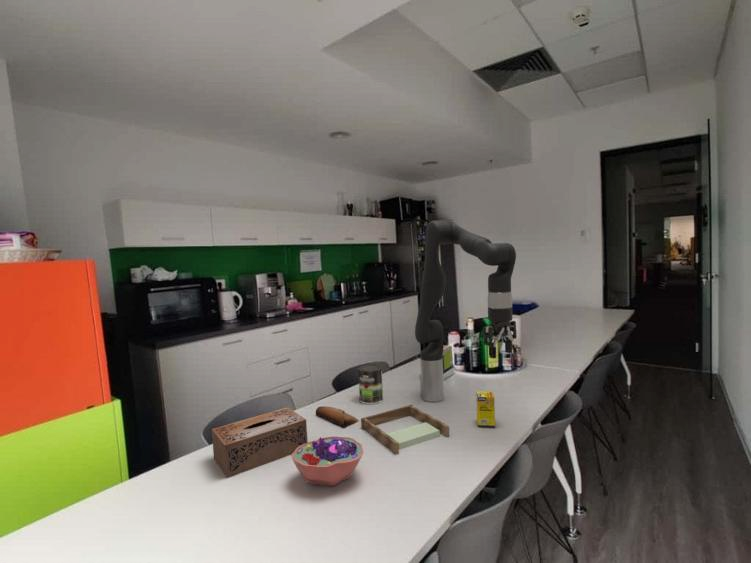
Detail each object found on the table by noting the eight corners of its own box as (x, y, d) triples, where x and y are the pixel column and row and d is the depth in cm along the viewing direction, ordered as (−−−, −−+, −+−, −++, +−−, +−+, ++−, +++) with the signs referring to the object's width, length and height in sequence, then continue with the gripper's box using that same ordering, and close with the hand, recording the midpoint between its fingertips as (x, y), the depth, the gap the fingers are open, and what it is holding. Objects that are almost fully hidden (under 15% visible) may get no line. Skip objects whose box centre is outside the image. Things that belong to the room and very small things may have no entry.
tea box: (436, 371, 204) (434, 343, 203) (454, 374, 198) (452, 345, 197) (421, 380, 192) (420, 350, 191) (440, 383, 186) (439, 352, 185)
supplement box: (495, 428, 137) (494, 397, 136) (477, 427, 138) (476, 396, 137) (494, 420, 143) (493, 391, 142) (476, 420, 144) (475, 390, 143)
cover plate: (386, 441, 133) (386, 433, 132) (426, 429, 140) (425, 422, 140) (399, 451, 126) (398, 443, 125) (439, 437, 133) (439, 430, 133)
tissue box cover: (227, 478, 114) (224, 445, 113) (214, 459, 126) (211, 429, 125) (308, 449, 129) (306, 419, 129) (289, 434, 141) (287, 407, 140)
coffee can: (378, 405, 163) (376, 372, 162) (355, 403, 167) (353, 370, 166) (387, 396, 172) (385, 365, 171) (365, 394, 176) (363, 363, 175)
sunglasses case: (361, 420, 149) (353, 408, 146) (349, 435, 145) (341, 423, 142) (332, 408, 162) (324, 397, 159) (320, 422, 158) (312, 410, 155)
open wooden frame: (361, 427, 142) (360, 418, 142) (412, 413, 153) (411, 404, 153) (394, 454, 122) (394, 443, 122) (450, 435, 133) (450, 425, 133)
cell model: (301, 464, 120) (298, 428, 119) (366, 462, 119) (364, 425, 118) (286, 498, 103) (283, 456, 102) (363, 496, 102) (360, 454, 101)
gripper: (503, 302, 134) (503, 349, 136) (476, 307, 126) (477, 357, 127) (523, 303, 128) (523, 353, 130) (496, 309, 120) (497, 362, 121)
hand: (500, 355), depth 128 cm, fingers open, 8 cm apart
